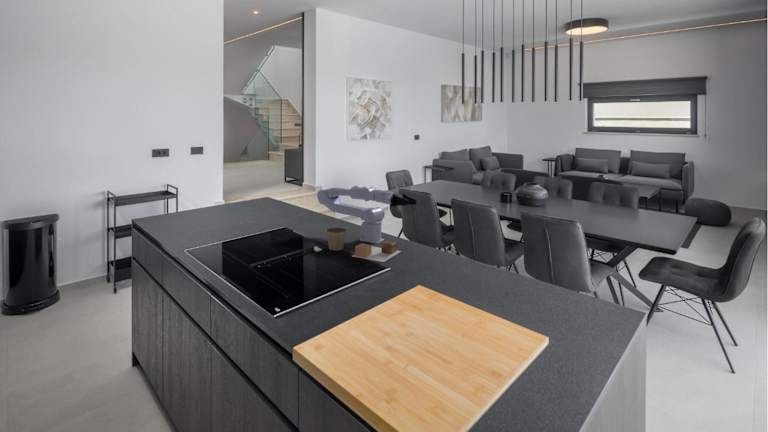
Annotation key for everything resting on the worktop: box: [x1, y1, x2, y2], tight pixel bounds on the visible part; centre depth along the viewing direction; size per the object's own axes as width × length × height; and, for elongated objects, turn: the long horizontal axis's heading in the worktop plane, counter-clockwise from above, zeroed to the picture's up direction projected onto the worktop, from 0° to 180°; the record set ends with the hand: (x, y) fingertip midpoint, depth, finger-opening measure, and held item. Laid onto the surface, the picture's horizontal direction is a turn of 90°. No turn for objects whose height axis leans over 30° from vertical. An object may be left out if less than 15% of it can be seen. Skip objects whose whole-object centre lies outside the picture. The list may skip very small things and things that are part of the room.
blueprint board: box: [352, 245, 402, 263], centre depth 182 cm, size 15×17×1 cm
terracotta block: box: [354, 243, 373, 257], centre depth 179 cm, size 5×5×4 cm
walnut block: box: [381, 240, 398, 254], centre depth 184 cm, size 5×5×4 cm
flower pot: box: [324, 227, 348, 251], centre depth 187 cm, size 9×9×9 cm
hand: (412, 202), depth 188 cm, fingers open, 7 cm apart
